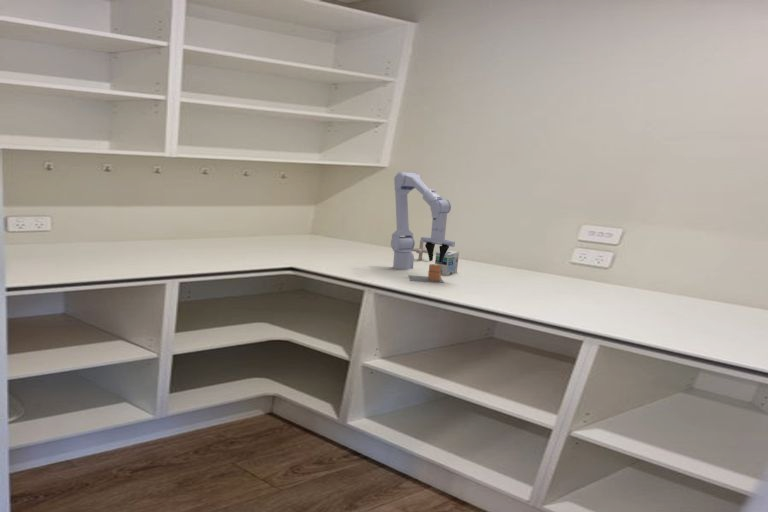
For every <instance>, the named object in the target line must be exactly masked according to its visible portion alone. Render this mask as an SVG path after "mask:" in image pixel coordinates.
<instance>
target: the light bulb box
mask: <svg viewBox="0 0 768 512" xmlns="http://www.w3.org/2000/svg"><path fill="white" fill-rule="evenodd" d="M459 256H460V252H459V251H454V250H451V249H450V250H449V249H448V250H447V252H446V253H445V256H444V258H443V262H442V263H439V257H440V251H436V252H435V260H434V261H435V262H434V264H438V265H441V276H444V277H445V276H446V277H448V276H451V275H455V274H456V273H458V266H459Z"/></svg>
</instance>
